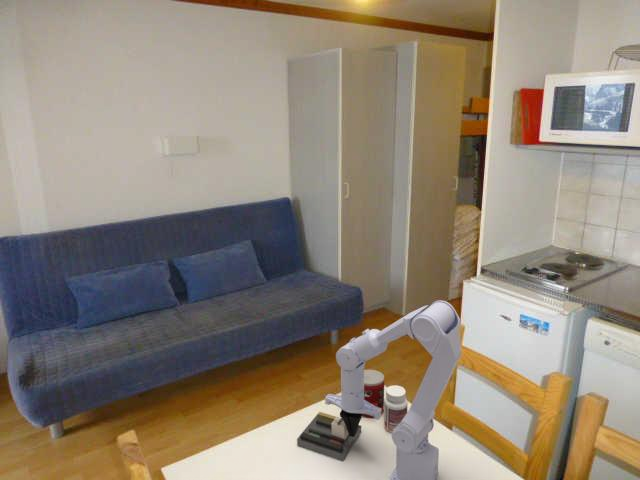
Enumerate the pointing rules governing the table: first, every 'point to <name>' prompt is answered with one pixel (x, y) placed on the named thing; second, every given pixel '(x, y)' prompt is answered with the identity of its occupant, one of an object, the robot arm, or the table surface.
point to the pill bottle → (394, 407)
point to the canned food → (374, 389)
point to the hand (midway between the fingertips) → (352, 434)
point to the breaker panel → (326, 438)
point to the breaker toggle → (339, 428)
